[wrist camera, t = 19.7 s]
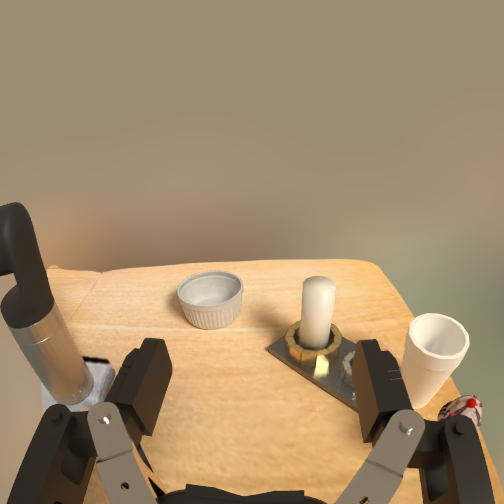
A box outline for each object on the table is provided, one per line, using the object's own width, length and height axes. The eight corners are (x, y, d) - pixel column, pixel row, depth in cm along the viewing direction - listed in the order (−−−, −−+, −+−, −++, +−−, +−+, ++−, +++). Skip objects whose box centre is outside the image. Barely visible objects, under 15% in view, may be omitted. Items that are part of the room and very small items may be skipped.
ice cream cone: (437, 441, 30) (484, 375, 24) (445, 473, 25) (502, 414, 19) (403, 448, 31) (445, 384, 24) (409, 482, 26) (461, 427, 19)
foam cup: (448, 396, 37) (480, 338, 31) (412, 426, 34) (445, 370, 28) (412, 364, 45) (434, 305, 39) (375, 389, 42) (395, 329, 36)
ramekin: (223, 289, 71) (219, 263, 68) (258, 315, 61) (257, 287, 58) (172, 311, 64) (166, 284, 61) (203, 344, 54) (196, 315, 51)
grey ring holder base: (268, 351, 52) (268, 336, 50) (309, 323, 58) (310, 308, 56) (360, 413, 38) (366, 399, 36) (395, 371, 44) (401, 356, 43)
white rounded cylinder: (292, 346, 51) (296, 284, 45) (312, 333, 54) (317, 272, 48) (313, 361, 47) (321, 299, 41) (332, 346, 50) (342, 285, 44)
